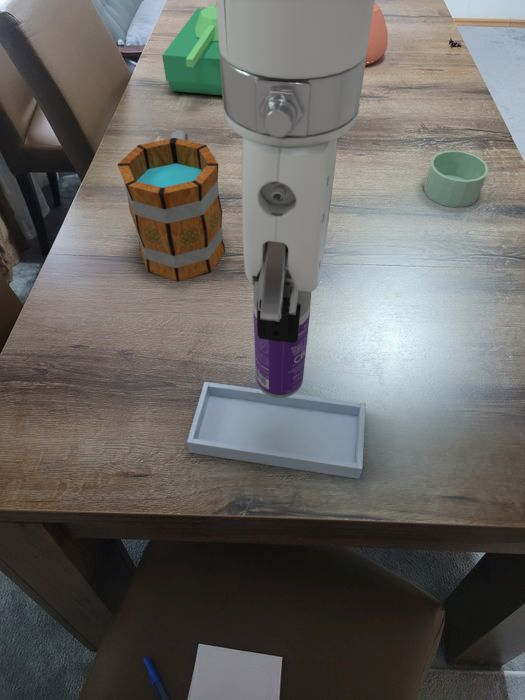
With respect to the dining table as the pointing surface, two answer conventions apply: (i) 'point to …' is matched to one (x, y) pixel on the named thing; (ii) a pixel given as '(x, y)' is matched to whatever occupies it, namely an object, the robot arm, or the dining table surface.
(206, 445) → the tray
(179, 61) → the toy tank
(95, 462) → the dining table surface
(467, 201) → the bowl
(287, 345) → the container
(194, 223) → the mug
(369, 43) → the teapot
